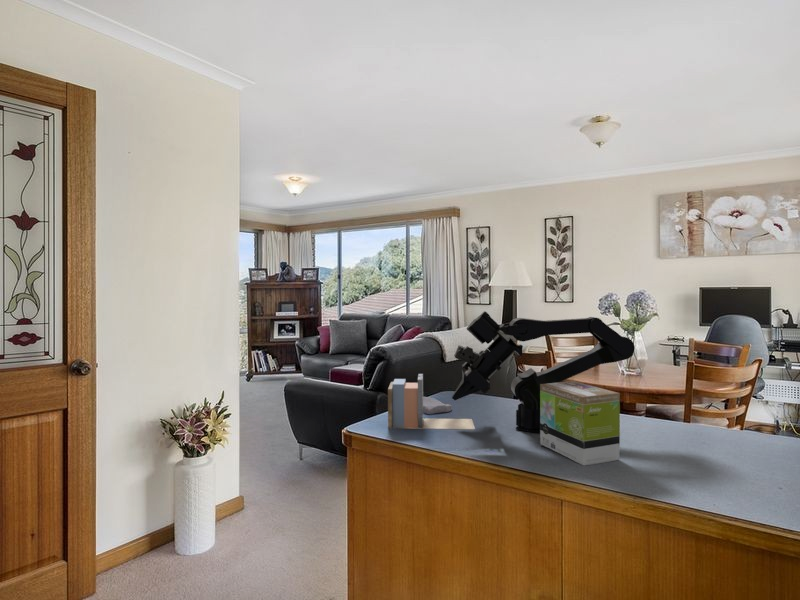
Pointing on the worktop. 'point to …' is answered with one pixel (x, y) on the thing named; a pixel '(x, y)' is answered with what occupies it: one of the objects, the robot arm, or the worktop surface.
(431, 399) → the stone block
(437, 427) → the wooden book rack
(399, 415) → the book
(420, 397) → the grey flat rectangular panel
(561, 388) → the tea box
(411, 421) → the book
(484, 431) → the worktop surface
